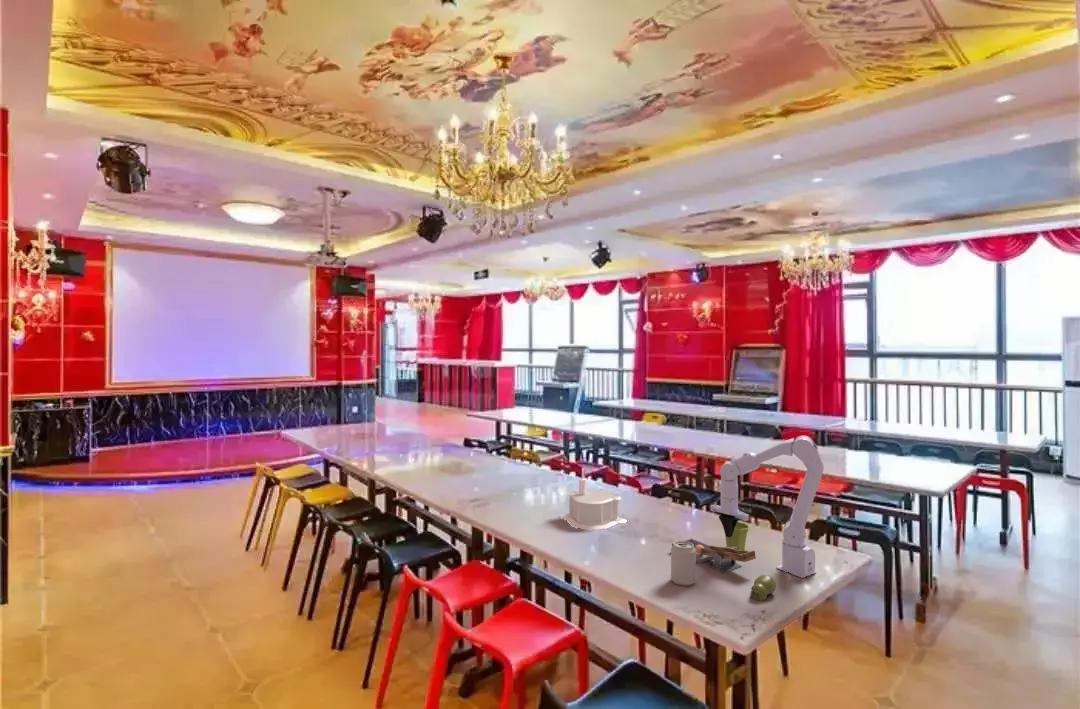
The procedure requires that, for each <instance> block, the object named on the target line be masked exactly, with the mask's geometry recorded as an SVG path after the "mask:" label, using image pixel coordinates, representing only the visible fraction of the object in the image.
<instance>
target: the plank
mask: <svg viewBox="0 0 1080 709" xmlns="http://www.w3.org/2000/svg"><path fill="white" fill-rule="evenodd" d="M737 549H739V547H735V546H730V547H727V546H726V547H723V546H717V545H711V546H710V549H704V548H701V554H702V555H708V556H714V554H715V553H716V554H719V555H721V558H725V559H731V560H736V562H737V561H738V562H744V563H745V562H750V561H752V560H756V559H757V557H756V551H755V550H745V549H744V550H737Z"/></svg>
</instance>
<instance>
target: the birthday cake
mask: <svg viewBox="0 0 1080 709" xmlns="http://www.w3.org/2000/svg"><path fill="white" fill-rule="evenodd" d="M586 486H587V479H586V478H585V468H581V478H579V479H578V491H571V492H568V493H567V494H566V497H569V506H568V508H569V511H568V513H564V514H561V515H560V516H561V518H562V519H566V520H568V521H569V522H570V524H571V525H572V526H574V527H577V528H582V529H590V530H591V529H592V530H600V529H607V528H609V527H611V526H614V525H616V524H618V523H626V522H627V520H628V519H626V518H622V517H620V516H619V500H622V497H621V496H619V495H618V494H613V493H612V492H611V491H609V490H606V489H601V488H586ZM618 516H619V517H620V518H619V517H618ZM566 520H565V521H566ZM577 528H576V529H577Z"/></svg>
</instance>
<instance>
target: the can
mask: <svg viewBox="0 0 1080 709" xmlns="http://www.w3.org/2000/svg"><path fill="white" fill-rule="evenodd" d="M696 571H697V562H696V549H695V548H694V545H693V544H692V543H690V542H686V541H683V540H677V541H674V542H673V546H672V545H671V548H670V579H671V580H672V581H673V583H674V584H675V583H676V585H677V584H678V586H681V587H690V586H692V585H693V584H694V583H696V581H697V578H696V576H697V575H696V573H697V572H696Z"/></svg>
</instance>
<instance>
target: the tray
mask: <svg viewBox="0 0 1080 709" xmlns="http://www.w3.org/2000/svg"><path fill="white" fill-rule="evenodd" d="M682 541H686V542H690V543H692V544H693V545H694V548H695V547H696V546H697V545H702V546H703V547H704V548H705V549H710V546H712V545H711V544H707V543H705V542H703V541H700V540H697V539H695V538H687V539H683V540H682ZM673 543H674V542H673ZM673 543H671V547H672V546H673ZM710 560H714V556H708V555H700V554H699V553H696V564H701V563H703V562H707V561H710Z"/></svg>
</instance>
